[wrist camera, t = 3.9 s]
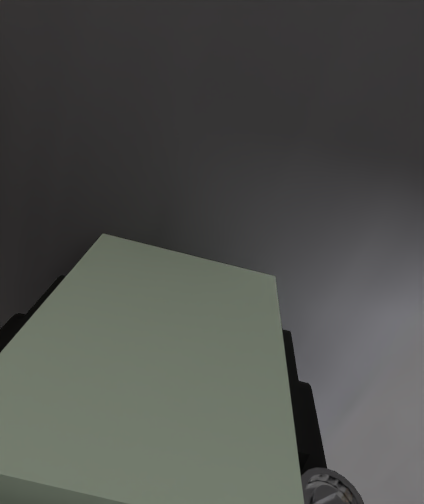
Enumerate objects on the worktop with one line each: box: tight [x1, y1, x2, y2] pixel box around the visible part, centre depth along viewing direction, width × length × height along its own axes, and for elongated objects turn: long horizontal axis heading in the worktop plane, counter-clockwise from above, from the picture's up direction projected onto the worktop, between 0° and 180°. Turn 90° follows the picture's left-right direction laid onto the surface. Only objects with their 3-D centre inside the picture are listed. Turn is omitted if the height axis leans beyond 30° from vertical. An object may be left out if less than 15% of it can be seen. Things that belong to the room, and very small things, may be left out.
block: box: [0, 234, 304, 504], centre depth 9 cm, size 5×5×7 cm
